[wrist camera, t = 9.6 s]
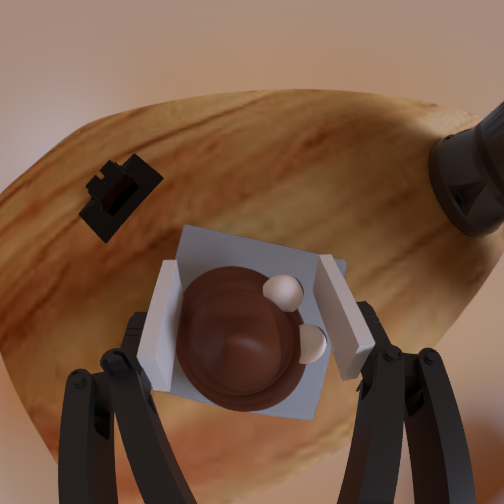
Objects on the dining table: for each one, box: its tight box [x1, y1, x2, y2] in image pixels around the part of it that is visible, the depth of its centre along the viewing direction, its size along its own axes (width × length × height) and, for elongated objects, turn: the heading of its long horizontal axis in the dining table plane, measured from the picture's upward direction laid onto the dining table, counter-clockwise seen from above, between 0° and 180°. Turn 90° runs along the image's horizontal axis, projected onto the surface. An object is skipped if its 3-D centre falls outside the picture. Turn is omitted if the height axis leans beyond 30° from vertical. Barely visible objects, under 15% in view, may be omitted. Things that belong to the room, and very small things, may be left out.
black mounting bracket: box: [79, 154, 164, 243], centre depth 25 cm, size 12×7×5 cm, turn 141°
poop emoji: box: [175, 266, 327, 412], centre depth 14 cm, size 10×8×9 cm
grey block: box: [151, 224, 347, 420], centre depth 23 cm, size 14×14×4 cm
